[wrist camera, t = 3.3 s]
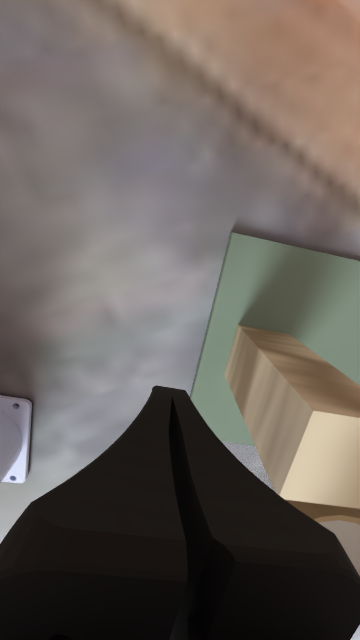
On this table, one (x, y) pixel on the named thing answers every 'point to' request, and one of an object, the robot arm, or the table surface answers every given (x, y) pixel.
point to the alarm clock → (337, 525)
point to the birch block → (298, 416)
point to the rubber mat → (276, 317)
